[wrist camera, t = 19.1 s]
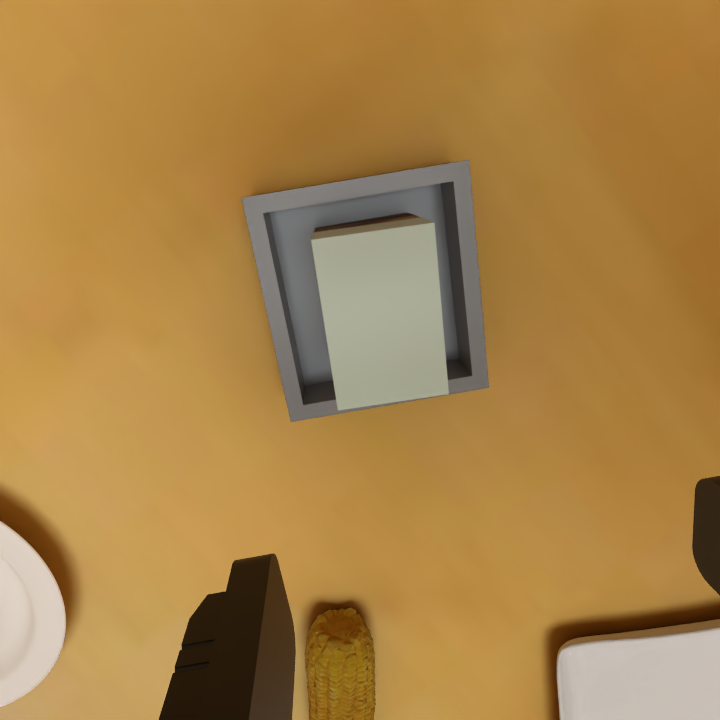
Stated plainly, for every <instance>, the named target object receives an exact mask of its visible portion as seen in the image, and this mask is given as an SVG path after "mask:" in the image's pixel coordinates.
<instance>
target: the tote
mask: <svg viewBox="0 0 720 720" xmlns="http://www.w3.org/2000/svg"><path fill="white" fill-rule="evenodd" d="M242 202H243V207H244V211H245V216H246V220H247V225H248V229H249V234H250V238H251V243H252V248H253V252H254V257H255V261H256V266H257V270H258V275H259V279H260V284H261V289H262V293H263V298H264V302H265V307H266V311H267V316H268V320H269V325H270V330H271V334H272V339H273V343H274V348H275V352H276V357H277V361H278V366H279V371H280V375H281V380H282V384H283V389H284V393H285V398H286V402H287V407H288V412H289V416H290V421H291V422H294V421H300V420H305V419H311V418H317V417H323V416H328V415H334V414H340V413H346V412H351V411H357V410H363V409H369V408H374V407H380V406H386V405H392V404H398V403H403V402H409V401H415V400H421V399H426V398H432V397H426V398H419V399H413V400H406V401H399V402H392V403H386V404H379V405H372V406H365V407H359V408H352V409H345V410H338V408H337V402H336V395H335V389H334V383H333V376H332V370H331V363H330V357H329V351H328V344H327V338H326V332H325V325H324V319H323V313H322V306H321V300H320V294H319V287H318V281H317V274H316V268H315V262H314V255H313V249H312V243H311V238H312V233H314V230H315V228H317V227H323V226H329V225H335V224H341V223H347V222H353V221H359V220H365V219H371V218H377V217H383V216H389V215H395V214H401V213H410V214H413V215H416V216H419V217H421V218H423V219H426V220H428V221H431V222H434V224H435V235H436V247H437V259H438V271H439V283H440V295H441V306H442V318H443V330H444V342H445V354H446V366H447V377H448V389H449V394H455V393H461V392H467V391H472V390H478V389H484V388H489V382H488V370H487V359H486V347H485V336H484V324H483V313H482V302H481V290H480V279H479V267H478V256H477V244H476V233H475V221H474V210H473V199H472V187H471V176H470V164H469V160H465V161H459V162H453V163H447V164H441V165H435V166H429V167H423V168H417V169H411V170H405V171H399V172H393V173H387V174H381V175H375V176H369V177H363V178H357V179H351V180H345V181H339V182H333V183H327V184H321V185H315V186H309V187H303V188H297V189H291V190H285V191H279V192H273V193H267V194H261V195H255V196H250V197H244V198H242ZM449 394H446V395H449ZM440 396H444V395H440ZM433 397H438V396H433Z"/></svg>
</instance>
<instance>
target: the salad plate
mask: <svg viewBox="0 0 720 720" xmlns="http://www.w3.org/2000/svg"><path fill="white" fill-rule="evenodd" d="M557 688H558V701H559V715H560V720H720V619H716V620H710V621H704V622H697V623H690V624H683V625H675V626H668V627H661V628H653V629H646V630H638V631H631V632H623V633H614V634H605V635H596V636H587V637H580V638H575V639H572V640H569V641H567V642H566V643H564V644H563V645H562V646H561V647H560V649H559V651H558V654H557Z"/></svg>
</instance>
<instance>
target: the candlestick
mask: <svg viewBox="0 0 720 720" xmlns="http://www.w3.org/2000/svg"><path fill="white" fill-rule="evenodd" d="M65 633H66V612H65V606H64V601H63V598H62V594H61V591H60V589H59V586H58V584H57V582H56V580H55V578H54V576H53V574H52V572H51V571H50V569H49V568H48V566H47V565H46V563H45V562H44V560H43V559H42V558H41V557H40V555H39V554H38V553H37V552H36V551H35V550H34V548H33V547H32V546H31V545H30V544H29V543H28V542H27V541H26V540H25V539H23V538H22V537H21V536H20V535H19V534H18V533H16V532H15V531H14V530H13V529H11V528H10V527H9V526H7V525H6V524H4V523H3V522H1V521H0V707H3V706H5V705H7V704H10V703H12V702H14V701H15V700H17V699H19V698H21V697H22V696H24V695H25V694H27V693H28V692H30V691H31V690H32V689H34V688H35V687H36V686H37V685H38V684H39V683H40V682H41V681H42V680H43V679H44V678H45V677H46V676H47V675H48V673H49V672H50V671H51V669H52V668H53V666H54V665H55V663H56V661H57V659H58V657H59V655H60V652H61V650H62V646H63V643H64V639H65Z"/></svg>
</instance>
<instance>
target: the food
mask: <svg viewBox="0 0 720 720" xmlns="http://www.w3.org/2000/svg"><path fill="white" fill-rule="evenodd" d="M374 655H375V653H374V647H373V639H372V638H371V634H370V631H369V629H368V628H367V627H366V624H365V622H364V620H363V619H362V618H361V616H360V614H357V613H356V610H354V609H352V608H348V609H346V610H345V609H343V608H342V609H339V610H328V611H326V612H324V613H323V614H321V615H318V616H317V618H316V620H315V621H314V623H313V624H312V625H311V627H310V630H309V633H308V637H307V643H306V650H305V664H306V667H305V668H306V672H307V679H308V682H307V683H308V687H307V688H308V693H309V719H310V720H374V712H375V705H376V703H375V701H376V700H375V688H374V687H375V682H374V679H375V674H374V668H375V659H374Z"/></svg>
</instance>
